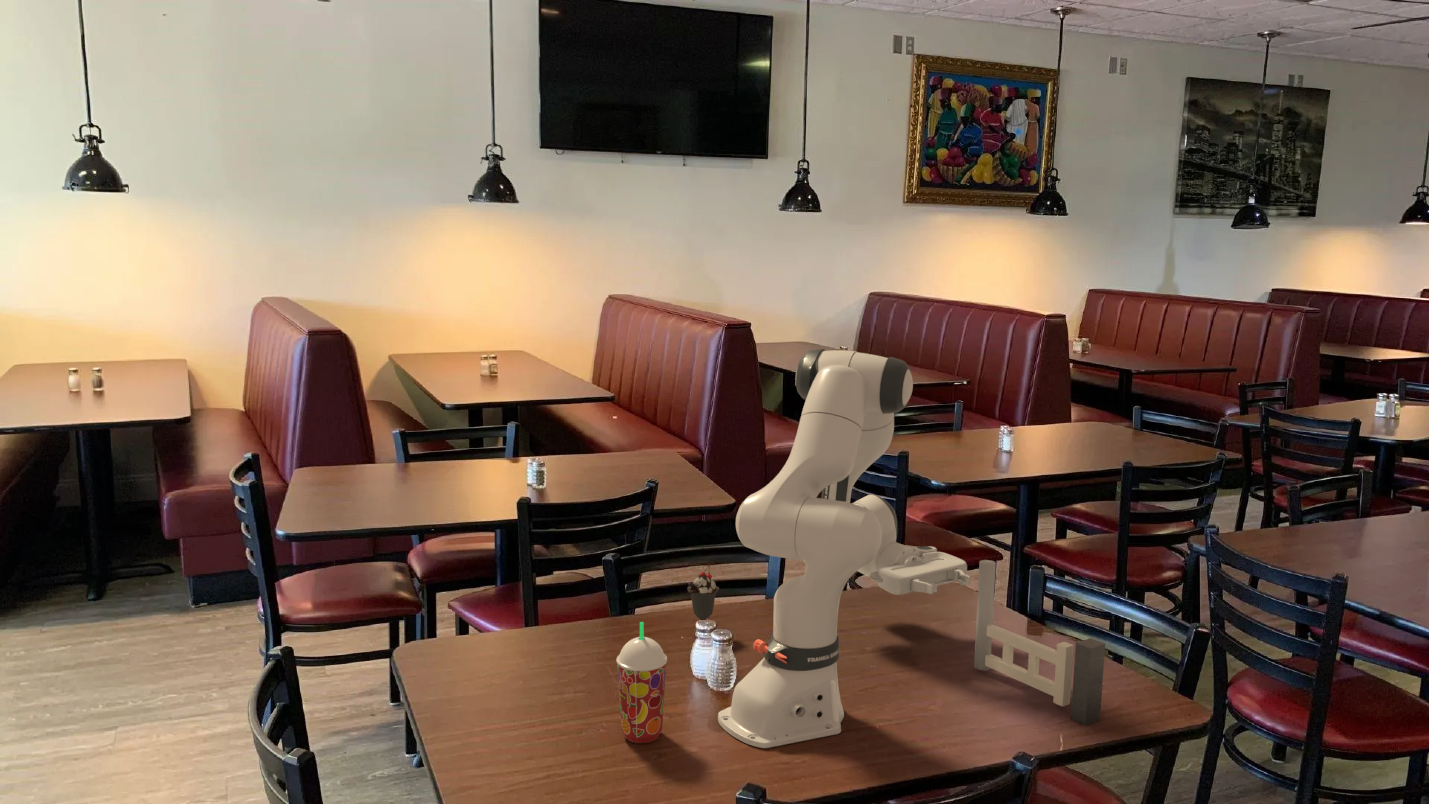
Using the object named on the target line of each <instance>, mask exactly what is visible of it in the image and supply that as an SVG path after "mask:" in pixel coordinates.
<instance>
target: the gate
mask: <svg viewBox="0 0 1429 804" xmlns="http://www.w3.org/2000/svg"><path fill="white" fill-rule="evenodd" d="M978 565H979V567H978V581H977V582H978V583H977V584H978V585H977V586H978V587H977V605H976V622H975V623H976V624H975V642H974V643H975V644H974V660H973V661H974V662H973V663H974V665H973V667H974V668H975V669H976V670H979V671H989V670H990V669H992V670H994V671H996V672H999V673H1001V674H1003V675H1005V676H1008V677H1010V678H1011V679H1015V680H1016V681H1018V682H1020V683H1023V684H1025V685H1027V686H1030V687H1032V688H1034V689H1036V690H1038V691H1041V692H1043V693H1045V694H1048V695H1050V696H1051V697H1053V698H1052V699H1053V701H1052V702H1053V704H1055V705H1058V706H1060V707H1066V706H1067V705H1070V704H1071V690H1072V677H1073V675H1072V674H1073V661H1074V647H1075V645H1074V644H1071V643H1070V642H1067V641H1062V642H1061V641H1060V642H1059V643H1056V649H1055V648H1052V647H1050V646H1048V645H1045V644H1042V643H1040V642H1038V641H1035V640H1033V639H1030V638H1027V637H1025V636H1023V635H1021V634H1018V633H1015V632H1012V631H1010V630H1008V629H1005V628H1003V627H1000V626H999V625H996V624H993V620H994V619H993V618H994V605H995V604H994V602H995V601H994V600H995V586H996V585H995V583H996V582H995V581H996V567H997V566H996V565H997V563H996V561H994V560H991V559H990V560H988V559H980V560H979V562H978ZM993 640H996V641H998V642H1000V643H1002V657H999V656H997V655H994V654H993V653H992V642H993ZM1014 648H1015V649H1017V650H1020V651H1022V652H1024V653H1028V660H1027V661H1028V662H1027V668H1024V667H1022V666H1020V665H1018V664H1015V663H1013V662H1014ZM1040 659H1041V660H1044V661H1046V662H1049V663H1050V664H1052V665H1054V667H1055V669H1054V680H1052V679H1050V678H1047V677H1045V676H1043V675H1040V674H1039V673H1040Z"/></svg>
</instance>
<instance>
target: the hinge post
mask: <svg viewBox="0 0 1429 804" xmlns="http://www.w3.org/2000/svg"><path fill="white" fill-rule="evenodd" d="M1105 653H1106V643H1104V642H1102V641H1100V640H1096V639H1094V638H1092V637H1089V638H1086V639H1083V640H1081V641H1078V642H1075V650H1074V665H1073V681H1072V695H1071V709H1070V711H1071V712H1070V720H1072V721H1074V722H1076V723H1079V724H1081V725H1083V726H1085V727H1086V726H1089V725H1090V724H1093V723H1096V722H1098V721H1100V720H1101V710H1102V708H1101V707H1102V697H1103V695H1102V694H1103V682H1104V667H1105Z"/></svg>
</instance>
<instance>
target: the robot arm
mask: <svg viewBox="0 0 1429 804" xmlns="http://www.w3.org/2000/svg"><path fill="white" fill-rule="evenodd" d="M913 380H914V379H913V376H912V369H911V368H910V367H909V365H908V364H907V363H906V361H904V360H902V359H899V358H897V357H892V356H889V357H884V356H881V355H876V354H870V353H866V352H858V351H856V350H839V349H838V350H834V349H833V350H831V349H830V350H826V349H825V348H819V349H811V350H808V351H807V352H806V353H805V354H803V355H802V356H801V357H800V359H799V362H798V364H797V368H796V371H795V386H796V391H797V393H798V394H799V395H800V397H801V398H802V399H803V400H804V401H805V402H804V405H803V408H802V411H801V414H800V415H801V416H800V418H799V424H798V427H797V431H796V435H795V439H794V440H793V441H794V442H793V445H792V447H791V451H790V454H789V456H788V458H787V460H786V462H785V464H784V465H783V466H782V468H781V470H780V471H779V473H777V475H775V477H774V478H773V479H772V480H770V482H769V483H768V484H766V485H765V486H764V487H762V488H761V489H759V490H758V491H755V492H754V493H751V494H749V496H746V498H745V499H744V500H743V501H742V502H741V504H740V505H739V508H738V511H737V513H736V517H735V530H736V534H737V537H738V539H739V540H740V542H741V544H742V546H744V547H746V548H748V549H751V550H753V551H755V552H758V553H761V554H763V555H766V556H771V557H776V558H784V559H790V560H796V561H800V562H804V565H805V571H804V574H803V575H800V576H796V577H794V578H790V579H789V580H787V581H785V582H783V583H782V584H781V585H780V586H779V587H778V588H777V590H776V592H775V594H774V596H773V618H772V619H773V623H772V624H773V625H772V627H773V630H772V631H773V632H772V633H771V635H770V637H769V640H768V643H767V642H765V641H763V640H762V639H759V638H757V639H755V641H754V643H753V644H752V647H753V650H754V651H756V652H759V654H761V655H763V658H762V659H761V660H760V661H759V662H758V663H757V664H756V666H754V667H753V668H752V669H751V670H750V671H749V672H748V673H747V674H746V675H745V676H744V677H743V678H742V679H741V680H740V681H739V682H738V683H737V684H736V685H735V687H734V690H733V693H732V698H731V699H732V700H731V705H730V706H728V707H727V708H723V709H722V710H720V711H719V712H718V714H717V721H718V722H717V723H718V724H719V725H720V727H721V728H722V729H723V730H724V731H725V732H726V733H728V734H729V735H731V736H732V737H733V738H735V739H737V740H739V741H741V742H742V743H745V744H746V745H750V746H753V747H757V748H760V749H768V748H775V747H779V746H784V745H788V744H794V743H799V742H803V741H804V742H805V741H809V740H814V739H819V738H824V737H829V736H834V735H838V734H840V733H841V732H842V725H841V723H842V721H843V719H844V717H845V710H844V708H843V705H842V700H841V695H840V690H839V681H838V679H839V678H838V669H837V668H838V666H837V663H838V662H837V661H838V660H839V658H840V638H839V636H838V633H837V632H838V631H837V630H838V616H839V608H840V601H841V595H842V593H843V590H844V588H845V586H846V584H847V582H848V581H849V579H851V577H852V576H853V575H854V574H855V573H857V572H858V573H860V574H863V575H864V576H866V577H869V579H870V580H872V581H873V582H876V583H877V585H878V587H879V588H881V589H883V590H884V591H886V592H888V593H890V594H892V595H896V596H901V595H906V594H911V593H926V594H929V595H933V594H937V592H938V590H937V589H938V586H942V585H946V584H951V583H955V582H958V584H959V585H961V586H963V587H964V586H969V585H971V584H972V583H971V581H972V579H971V576H970V575H968V573H967V572H968V564H967V562H966V561H965V560H964V559H962V558H960V557H957V556H954V555H952V554H949V553H946V552H943V551H938V548H936V547H935V546H932V545H931V546H929V545H928V546H926V545H925V546H922V545H921V546H913V545H908V544H905V545H904V544H903V543H902V544H901V543H899V542H897V539H898V518H897V514H896V510H895V508H894V507H893V506H892V505H891V504H890V503H889V502H888V500H886V499H885V498H882V497H881V496H878V495H876V494H871V493H870V494H867V495H866V496H864V497H862V498H860V499H857V500H855V501H854V502H852V503H851V497H852V489H853V487H854V485H855V483H856V482H857V481H858V479H859V478H860V477H861V475H862V474H863V473H864V472H865V471H866V470H867V469H868V468H869V467H871V465H873V464H874V463H875V462H876V461H877V460H878V459H880V458H881V457H882V456H883V455H884V454H885V453H886V451H887V450H888V449H889V448H890V446H891V442H892V441H893V437H894V431H895V414H896V413H899V412H900V411H902V410H904V409H905V408H906V407H907V405H908V402H909V400H910V398H911V396H912V393H913V390H914V389H913V388H914V383H913ZM820 493H821V497H818V496H819V494H820Z"/></svg>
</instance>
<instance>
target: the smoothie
mask: <svg viewBox="0 0 1429 804" xmlns="http://www.w3.org/2000/svg"><path fill="white" fill-rule="evenodd" d="M644 624H645V623H644V621H640V622H639V636H638V637H634V638H631V639H630V640H628V642H626V643H625V644H624V645H623V647H622V648H621V650H620V651H619V652H620V653H619V655H617V656H616V660H615V661H616V668H617V669H616V671H617V683H618V696H619V697H618V699H619V712H620V722H621V724H620V725H621V731H622V733H623V734H624V737H625V736H626V737H625V739H626V738H627V739H628V740H631V741H633V742H636V743H635V744H638V743H645V744H649V743H653V742H654V740H655V741H656V740H658V738H659V737H660V733H662V730H663V722H664V708H665V707H664V706H665V693H666V691H665V689H666V677H667V661H668V657H667V655H666V653H665V652H664V650H663V648H662V647H661V645H660V644H659V643H658V642H657V641H656V640H654V639H652V638H651V637H648V636H647V637H646V636H645V634H644V633H645V632H644V631H645V629H644V627H645V626H644ZM627 739H626V740H627ZM628 740H627V741H628ZM652 741H653V742H652ZM633 742H632V743H633Z"/></svg>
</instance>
